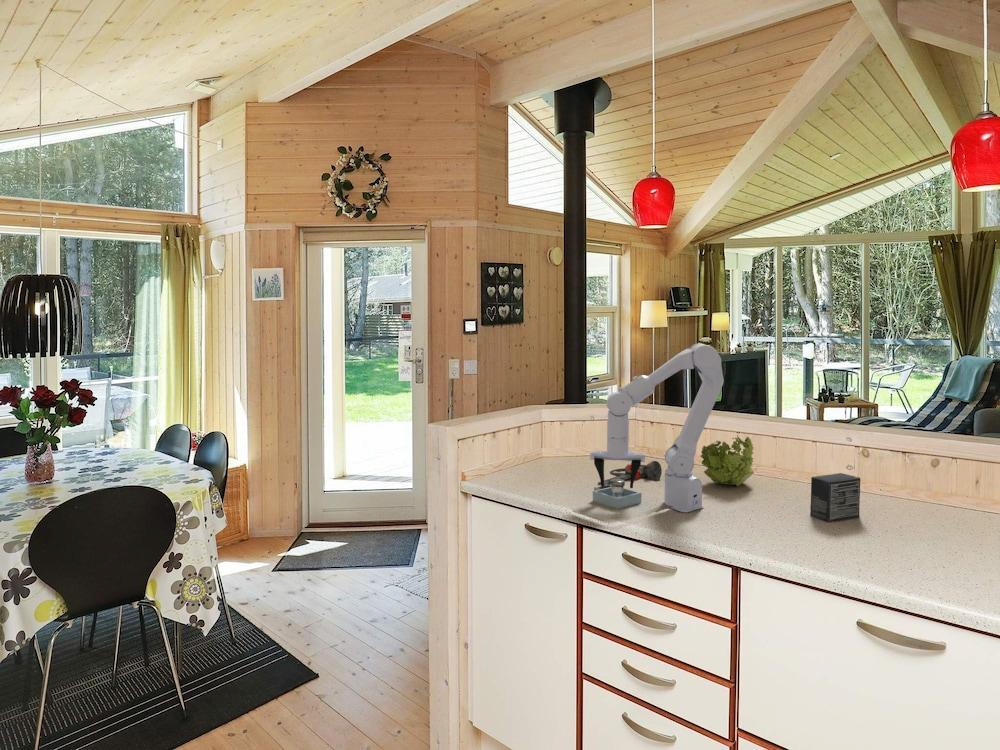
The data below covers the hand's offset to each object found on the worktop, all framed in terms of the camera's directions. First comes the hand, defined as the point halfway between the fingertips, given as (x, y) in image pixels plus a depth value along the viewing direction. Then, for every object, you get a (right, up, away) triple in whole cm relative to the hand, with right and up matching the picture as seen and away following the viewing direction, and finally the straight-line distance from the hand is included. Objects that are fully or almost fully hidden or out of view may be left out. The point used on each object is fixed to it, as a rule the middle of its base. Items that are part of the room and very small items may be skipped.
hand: (617, 486), depth 184 cm
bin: (0, -5, +1) cm, 5 cm away
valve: (+7, -3, +28) cm, 29 cm away
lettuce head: (+37, -3, +23) cm, 44 cm away
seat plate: (-1, -4, +10) cm, 11 cm away
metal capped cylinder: (0, -4, +1) cm, 5 cm away
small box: (+54, -6, -11) cm, 55 cm away
